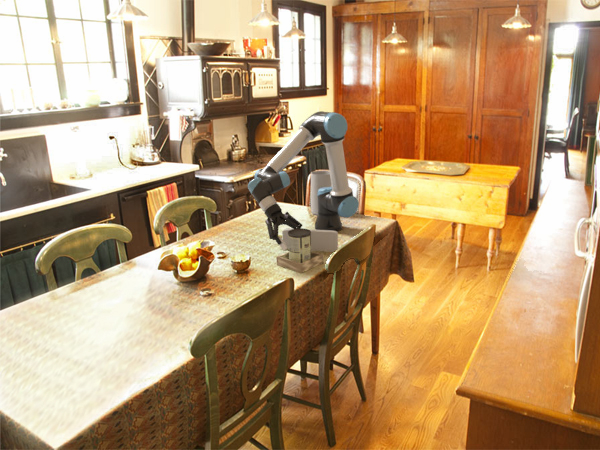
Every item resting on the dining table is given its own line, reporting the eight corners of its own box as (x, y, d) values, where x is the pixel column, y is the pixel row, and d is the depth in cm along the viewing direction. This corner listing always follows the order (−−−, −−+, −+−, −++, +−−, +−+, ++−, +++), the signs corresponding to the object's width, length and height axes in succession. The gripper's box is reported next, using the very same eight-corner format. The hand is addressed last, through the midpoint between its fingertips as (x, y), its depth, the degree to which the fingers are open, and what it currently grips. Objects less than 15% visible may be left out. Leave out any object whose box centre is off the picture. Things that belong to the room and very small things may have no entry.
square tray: (298, 255, 231) (298, 247, 230) (323, 262, 221) (323, 254, 220) (276, 264, 220) (276, 256, 219) (301, 273, 211) (301, 264, 210)
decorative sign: (338, 249, 238) (338, 230, 235) (337, 252, 234) (337, 232, 231) (274, 245, 245) (273, 227, 242) (272, 248, 241) (271, 229, 238)
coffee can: (294, 255, 227) (294, 227, 223) (315, 258, 223) (314, 229, 219) (284, 263, 218) (283, 233, 214) (305, 266, 214) (305, 236, 210)
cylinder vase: (310, 215, 295) (309, 174, 287) (312, 209, 307) (312, 170, 299) (330, 215, 293) (330, 175, 285) (332, 210, 305) (332, 170, 297)
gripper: (284, 206, 236) (309, 242, 231) (247, 218, 218) (272, 257, 213) (292, 197, 231) (317, 233, 226) (255, 209, 213) (281, 248, 208)
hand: (295, 245), depth 220 cm, fingers open, 13 cm apart
